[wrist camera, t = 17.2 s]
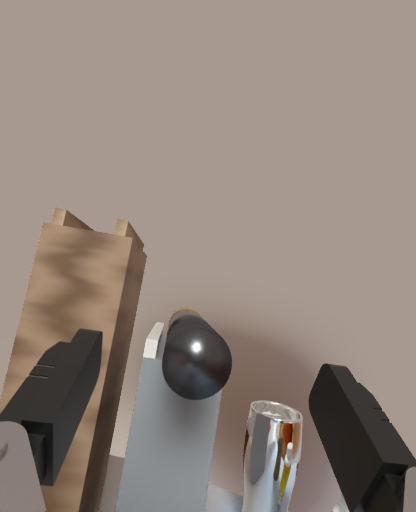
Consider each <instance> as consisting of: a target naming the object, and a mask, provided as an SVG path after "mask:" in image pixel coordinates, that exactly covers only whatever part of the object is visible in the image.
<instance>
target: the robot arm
mask: <svg viewBox="0 0 416 512" xmlns="http://www.w3.org/2000/svg"><path fill="white" fill-rule="evenodd" d="M102 341H103V332H102V331H97V330H90V329H83V328H80V329H79V330H78V331H77V333H76V334H75V336H74V337H73V339H72V340H71V342H70V343H69V342H62V341H59V342H58V343H56V344H55V345H53V346H52V347H51V348H49V349H48V350H46V351H45V352H44V354H43V355H42V357H41V358H40V359H39V361H38V362H37V365H36V366H34V368H33V369H32V371H31V372H30V373H29V376H28V377H26V379H25V380H24V382H23V383H22V384H21V386H20V387H19V389H18V390H17V391H16V393H15V394H14V395H13V397H12V398H11V400H10V401H9V402H8V404H7V405H6V407H5V408H4V409H3V411H2V412H1V413H0V512H47V510H46V507H45V503H44V499H43V495H42V491H41V487H40V486H41V485H44V486H54V483H55V481H56V479H57V476H58V474H59V471H60V469H61V467H62V464H63V462H64V460H65V457H66V455H67V452H68V450H69V448H70V445H71V443H72V441H73V438H74V436H75V433H76V431H77V429H78V426H79V424H80V422H81V419H82V417H83V414H84V412H85V410H86V407H87V405H88V403H89V400H90V398H91V395H92V393H93V391H94V388H95V386H96V383H97V380H98V377H99V373H100V367H101V355H102ZM309 410H310V413H311V416H312V418H313V421H314V423H315V426H316V429H317V431H318V433H319V436H320V439H321V441H322V444H323V446H324V449H325V451H326V454H327V456H328V459H329V461H330V464H331V466H332V469H333V472H334V474H335V477H336V479H337V482H338V484H339V487H340V489H341V492H342V494H343V497H344V500H345V502H346V505H347V507H348V510H349V512H416V459H415V458H414V456H413V455H412V453H411V452H410V451H409V449H408V447H407V446H406V445H405V443H404V441H403V440H402V438H401V437H400V435H399V434H398V432H397V431H396V429H395V428H394V426H393V425H392V423H390V422H389V419H388V417H387V416H386V414H385V413H384V412H383V411H382V408H381V407H380V405H379V404H378V402H377V401H376V399H375V398H374V396H373V395H372V394H371V393H370V392H369V391H368V390H367V389H366V388H365V387H364V386H363V385H361V384H360V383H357V382H356V380H355V378H354V377H353V375H352V374H351V372H350V371H349V369H348V368H347V367H345V366H339V365H332V364H323V365H322V367H321V369H320V371H319V373H318V376H317V378H316V381H315V383H314V386H313V388H312V390H311V393H310V395H309Z"/></svg>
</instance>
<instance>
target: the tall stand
mask: <svg viewBox="0 0 416 512" xmlns="http://www.w3.org/2000/svg"><path fill="white" fill-rule="evenodd" d="M143 246H144V244H143V242H142V241H141V240H140V238H139V236H138V235H137V234H136V232H135V230H134V229H133V227H132V226H131V224H130V223H129V221H126V220H120V219H117V223H116V228H115V232H114V235H113V234H108V233H102V232H96V231H94V230H93V229H91V228H90V227H89V226H87V225H86V224H85V223H83V222H82V221H81V220H79V219H78V218H77V217H75V216H74V215H73V214H71V213H70V212H69V211H67V210H65V209H60V208H55V211H54V214H53V219H52V223H51V224H50V223H45V222H44V223H43V226H42V230H41V234H40V238H39V242H38V246H37V250H36V255H35V259H34V263H33V267H32V271H31V275H30V279H29V283H28V288H27V292H26V296H25V300H24V304H23V308H22V312H21V317H20V321H19V325H18V329H17V333H16V337H15V342H14V346H13V350H12V354H11V358H10V362H9V366H8V370H7V375H6V379H5V383H4V387H3V391H2V395H1V399H0V413H1V412H2V411H3V409H4V408H5V407H6V405H7V404H8V402H9V401H10V400H11V398H12V397H13V395H14V394H15V393H16V391H17V390H18V389H19V387H20V386H21V384H22V383H23V382H24V380H25V379H26V377H28V376H29V373H30V372H31V371H32V369H33V368H34V366H36V365H37V362H38V361H39V359H40V358H41V357H42V355H43V354H44V352H45V351H46V350H48V349H49V348H51V347H52V346H53V345H55V344H56V343H58V342H59V341H62V342H69V343H70V342H71V340H72V339H73V337H74V336H75V334H76V333H77V331H78V330H79V329H80V328H83V329H90V330H97V331H102V332H103V341H102V355H101V367H100V373H99V377H98V380H97V383H96V386H95V388H94V391H93V393H92V395H91V398H90V400H89V403H88V405H87V407H86V410H85V412H84V414H83V417H82V419H81V422H80V424H79V426H78V429H77V431H76V433H75V436H74V438H73V441H72V443H71V445H70V448H69V450H68V452H67V455H66V457H65V460H64V462H63V464H62V467H61V469H60V471H59V474H58V476H57V479H56V481H55V483H54V486H44V485H41V486H40V487H41V491H42V495H43V499H44V503H45V507H46V510H47V512H98V510H99V506H100V500H101V495H102V490H103V485H104V479H105V474H106V469H107V464H108V458H109V453H110V448H111V442H112V437H113V431H114V427H115V421H116V416H117V411H118V405H119V400H120V395H121V390H122V385H123V379H124V374H125V368H126V363H127V358H128V353H129V348H130V342H131V337H132V332H133V327H134V321H135V316H136V311H137V305H138V300H139V295H140V289H141V284H142V279H143V273H144V268H145V263H146V258H147V256H146V254H145V253H144V252H143Z"/></svg>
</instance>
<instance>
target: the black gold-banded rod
mask: <svg viewBox="0 0 416 512" xmlns="http://www.w3.org/2000/svg"><path fill="white" fill-rule="evenodd" d="M231 367H232V358H231V353H230V350H229V347H228V345H227V344H226V342H225V341H224V339H223V338H222V337H221V336H220V335H219V334H218V333H217V332H216V331H215V330H214V329H213V328H212V327H211V326H210V325H209V324H208V323H207V322H206V321H205V320H204V319H203V318H202V317H201V316H200V315H199V314H198V313H197V312H196V311H195V310H194V309H192V308H189V307H182V308H179V309H177V310H176V311H174V313H173V314H172V315H171V318H170V321H169V326H168V333H167V337H166V343H165V348H164V353H163V358H162V372H163V376H164V378H165V381H166V383H167V384H168V386H169V387H170V388H171V390H172V391H173V392H175V393H176V394H177V395H179V396H181V397H183V398H185V399H189V400H202V399H206V398H209V397H211V396H213V395H215V394H216V393H217V392H219V391H220V390H221V389H222V388H223V387H224V385H225V384H226V382H227V380H228V378H229V375H230V373H231Z"/></svg>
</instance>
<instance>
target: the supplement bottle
mask: <svg viewBox="0 0 416 512" xmlns="http://www.w3.org/2000/svg"><path fill="white" fill-rule="evenodd" d="M332 512H349V510H348V507H347V505H346V502H345V500H344V497H343V494H342V495H341V500H340V504H337V505H336V506H334V508H333V509H332Z"/></svg>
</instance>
